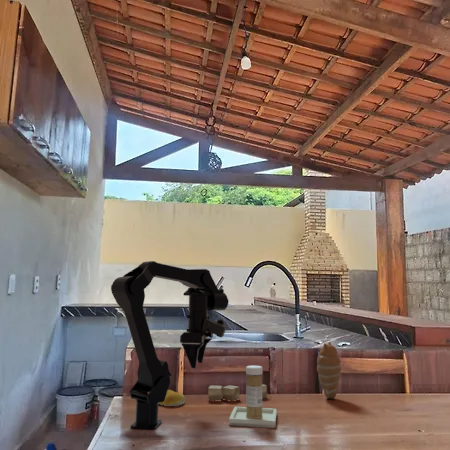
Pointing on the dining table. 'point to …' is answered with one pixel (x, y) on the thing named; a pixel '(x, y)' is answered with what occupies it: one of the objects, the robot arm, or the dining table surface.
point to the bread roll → (173, 399)
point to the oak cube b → (230, 393)
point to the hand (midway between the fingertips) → (197, 365)
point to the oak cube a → (215, 393)
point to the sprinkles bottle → (254, 392)
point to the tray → (240, 419)
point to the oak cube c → (264, 391)
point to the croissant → (329, 370)
